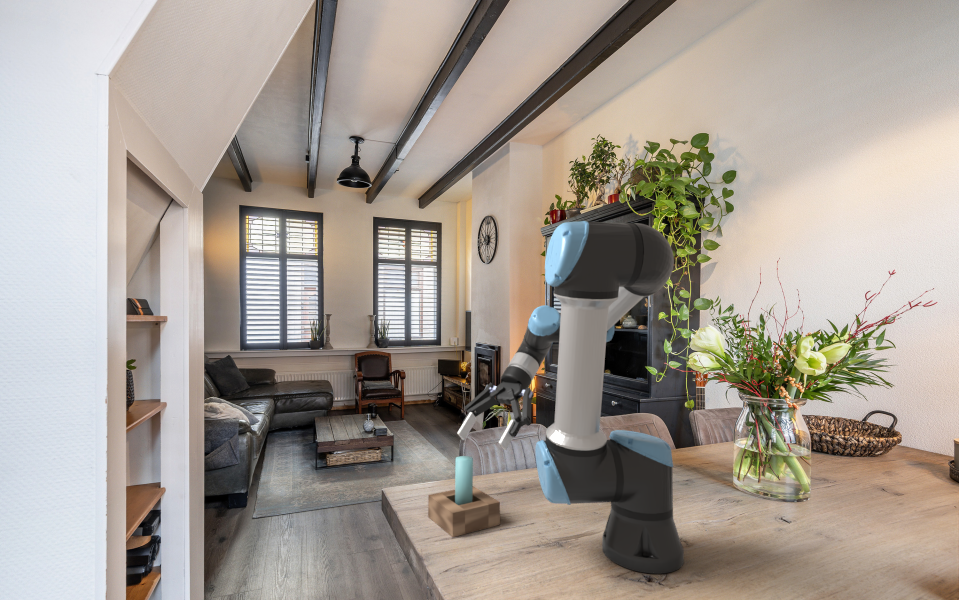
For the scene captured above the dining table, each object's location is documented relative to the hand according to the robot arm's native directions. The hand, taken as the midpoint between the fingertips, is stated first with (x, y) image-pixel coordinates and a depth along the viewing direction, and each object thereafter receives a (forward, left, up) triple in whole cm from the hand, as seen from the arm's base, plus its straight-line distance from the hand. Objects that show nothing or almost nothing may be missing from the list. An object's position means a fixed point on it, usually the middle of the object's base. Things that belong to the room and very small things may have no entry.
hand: (480, 441), depth 110 cm
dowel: (-1, +5, -17) cm, 18 cm away
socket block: (-1, +5, -17) cm, 18 cm away
